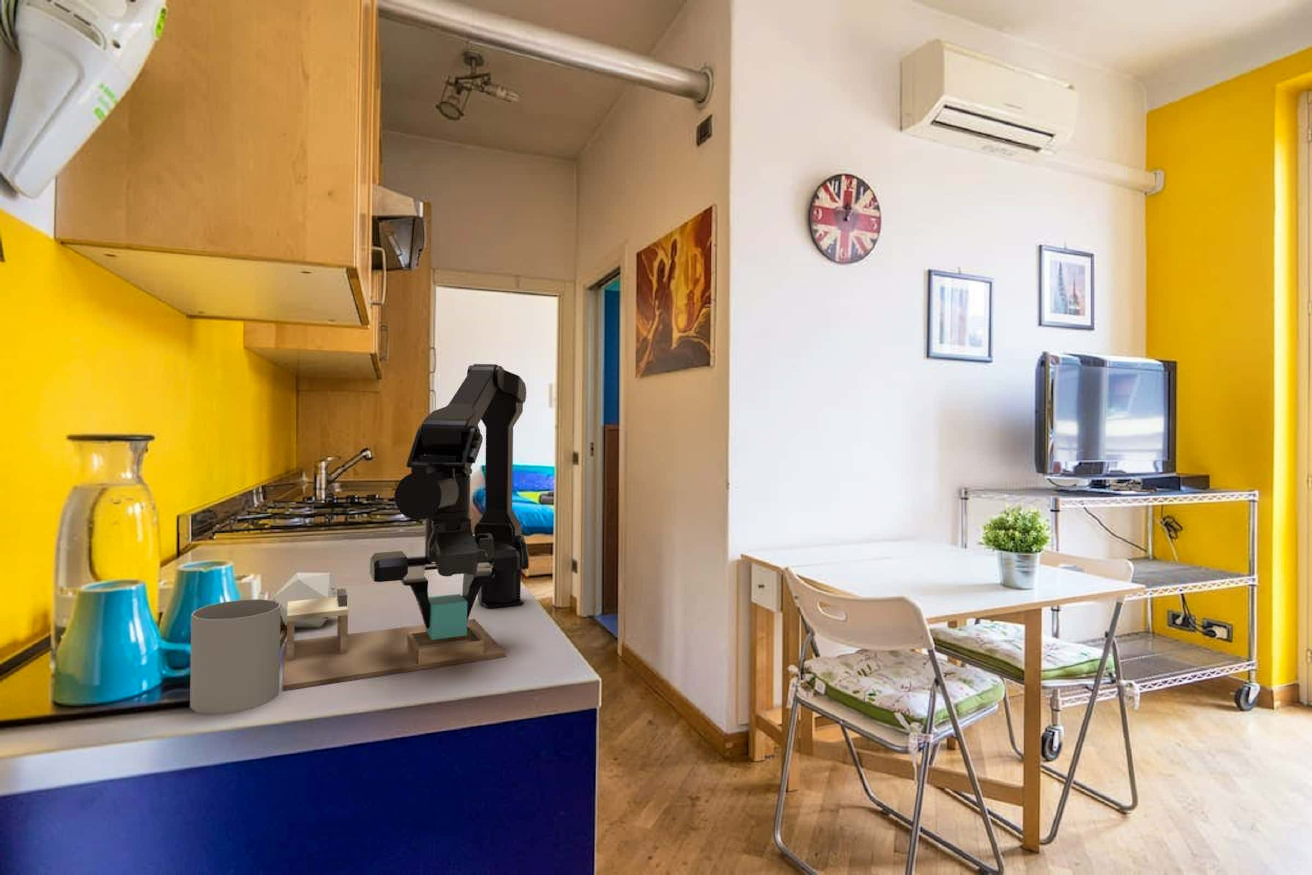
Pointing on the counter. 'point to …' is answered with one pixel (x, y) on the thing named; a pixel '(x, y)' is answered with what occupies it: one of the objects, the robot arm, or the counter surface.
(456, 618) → the block
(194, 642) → the cup
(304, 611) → the bridge
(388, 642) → the board
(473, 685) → the counter surface
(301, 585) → the die
